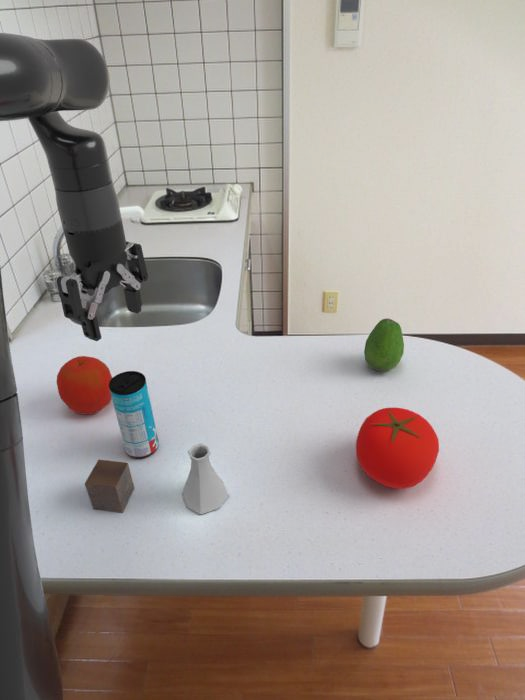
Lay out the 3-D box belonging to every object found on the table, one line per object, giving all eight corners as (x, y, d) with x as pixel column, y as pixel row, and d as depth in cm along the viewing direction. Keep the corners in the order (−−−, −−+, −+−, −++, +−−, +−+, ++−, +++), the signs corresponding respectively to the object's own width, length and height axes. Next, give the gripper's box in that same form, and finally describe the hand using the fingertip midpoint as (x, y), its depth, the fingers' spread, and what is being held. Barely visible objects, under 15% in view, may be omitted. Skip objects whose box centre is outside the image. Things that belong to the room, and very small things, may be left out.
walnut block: (122, 513, 82) (115, 487, 78) (93, 509, 83) (84, 483, 79) (134, 488, 86) (128, 462, 83) (106, 484, 87) (98, 459, 83)
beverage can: (166, 446, 93) (153, 380, 85) (138, 465, 90) (122, 398, 81) (146, 431, 97) (131, 366, 88) (119, 448, 93) (101, 382, 85)
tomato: (368, 430, 95) (373, 385, 89) (441, 452, 90) (451, 406, 84) (340, 485, 85) (344, 438, 79) (420, 514, 80) (430, 466, 74)
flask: (211, 471, 88) (205, 427, 83) (237, 497, 84) (232, 453, 78) (174, 494, 85) (165, 450, 79) (199, 522, 80) (192, 477, 74)
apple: (128, 400, 104) (117, 353, 98) (88, 430, 98) (74, 381, 91) (94, 384, 109) (81, 337, 103) (54, 411, 102) (37, 363, 96)
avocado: (398, 382, 106) (406, 332, 99) (360, 375, 108) (364, 326, 102) (402, 359, 112) (409, 311, 106) (366, 354, 115) (370, 306, 108)
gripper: (108, 198, 75) (129, 298, 84) (27, 232, 65) (60, 342, 74) (149, 205, 71) (166, 308, 81) (70, 242, 61) (99, 356, 70)
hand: (115, 324), depth 77 cm, fingers open, 8 cm apart
